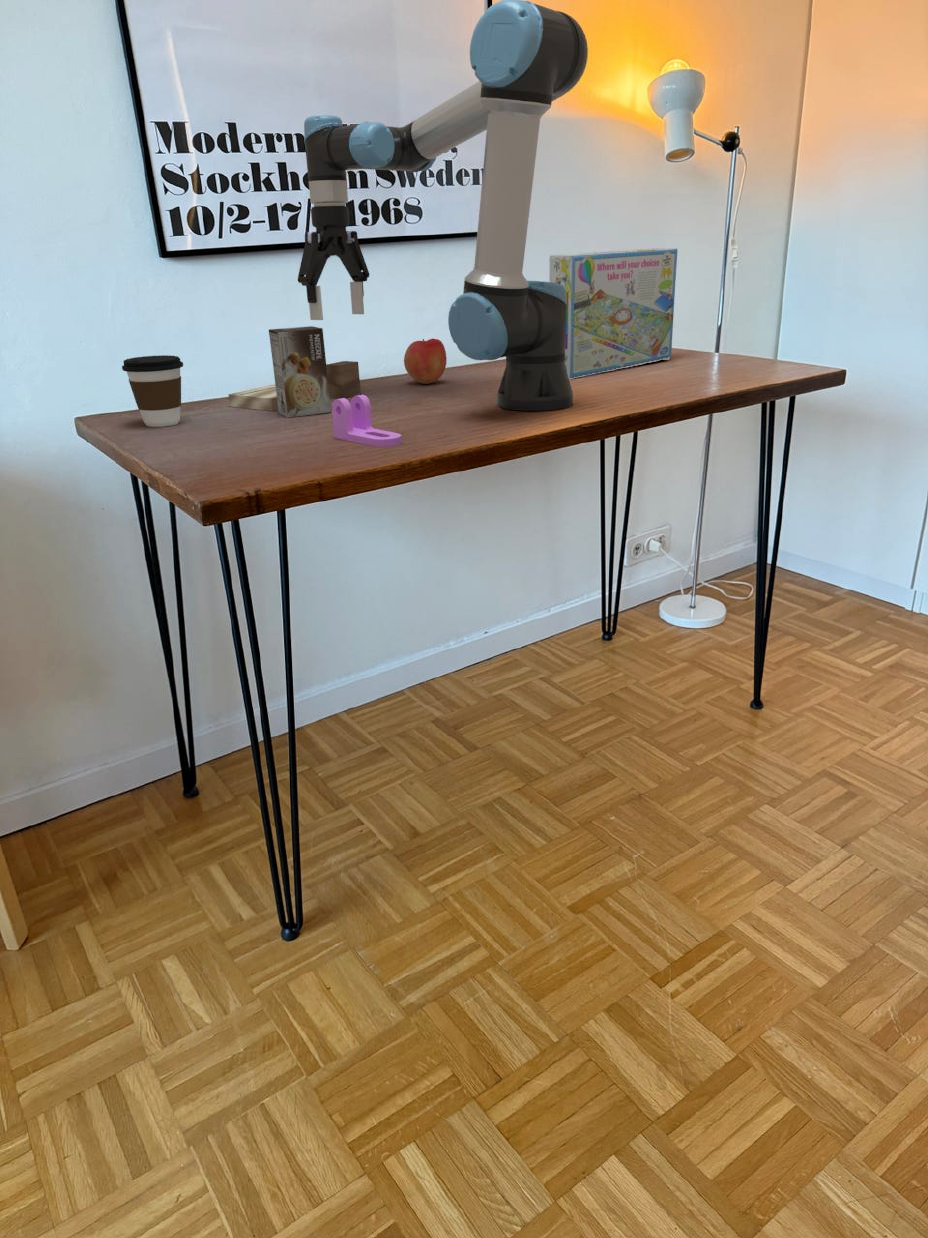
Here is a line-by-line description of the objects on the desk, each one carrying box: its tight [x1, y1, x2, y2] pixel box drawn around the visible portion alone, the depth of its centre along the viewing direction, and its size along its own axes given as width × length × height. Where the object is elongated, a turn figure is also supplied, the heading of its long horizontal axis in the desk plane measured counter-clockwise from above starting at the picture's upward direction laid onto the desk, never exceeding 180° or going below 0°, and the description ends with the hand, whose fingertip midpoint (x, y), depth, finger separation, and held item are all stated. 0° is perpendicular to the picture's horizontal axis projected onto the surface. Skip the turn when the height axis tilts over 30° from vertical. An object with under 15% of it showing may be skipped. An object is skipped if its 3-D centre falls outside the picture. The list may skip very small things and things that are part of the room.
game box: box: [548, 247, 678, 378], centre depth 210 cm, size 40×7×27 cm, turn 132°
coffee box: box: [268, 325, 332, 419], centre depth 168 cm, size 9×6×16 cm
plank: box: [228, 383, 279, 412], centre depth 187 cm, size 12×26×3 cm, turn 148°
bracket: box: [331, 394, 402, 448], centre depth 146 cm, size 13×6×7 cm, turn 46°
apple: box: [403, 338, 447, 385], centre depth 200 cm, size 10×10×10 cm
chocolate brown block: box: [326, 360, 362, 400], centre depth 190 cm, size 14×6×7 cm, turn 58°
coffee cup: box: [121, 354, 184, 428], centre depth 163 cm, size 11×11×12 cm
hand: (338, 317), depth 182 cm, fingers open, 13 cm apart
